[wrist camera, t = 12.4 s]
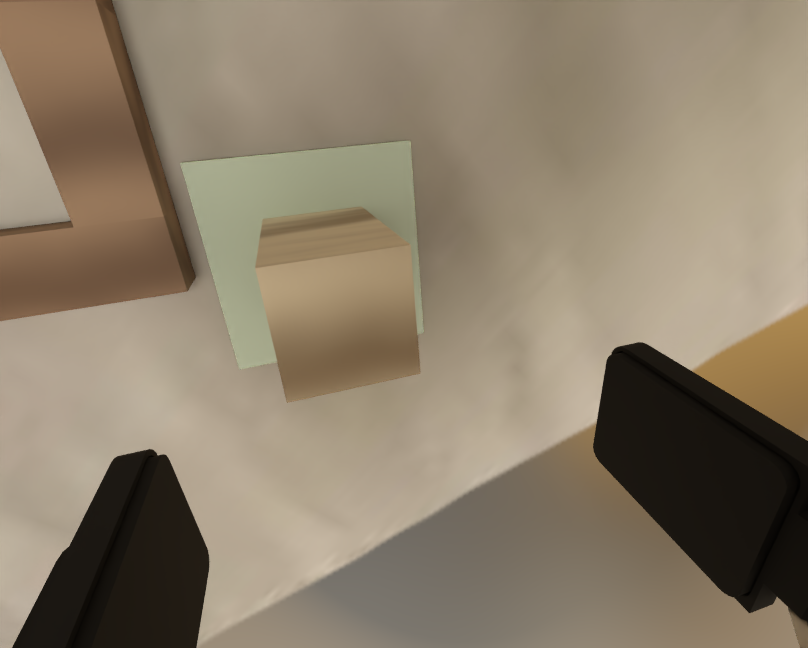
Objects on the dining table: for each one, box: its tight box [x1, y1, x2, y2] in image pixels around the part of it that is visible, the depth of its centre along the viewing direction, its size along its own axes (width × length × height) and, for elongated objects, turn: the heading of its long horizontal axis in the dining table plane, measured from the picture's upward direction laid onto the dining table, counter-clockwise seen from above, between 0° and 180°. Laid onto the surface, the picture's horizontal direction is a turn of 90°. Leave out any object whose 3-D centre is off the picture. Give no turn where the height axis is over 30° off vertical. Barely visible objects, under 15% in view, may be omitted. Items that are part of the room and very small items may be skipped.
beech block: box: [255, 206, 420, 403], centre depth 20 cm, size 6×6×10 cm
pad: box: [180, 140, 424, 370], centre depth 25 cm, size 12×12×1 cm
